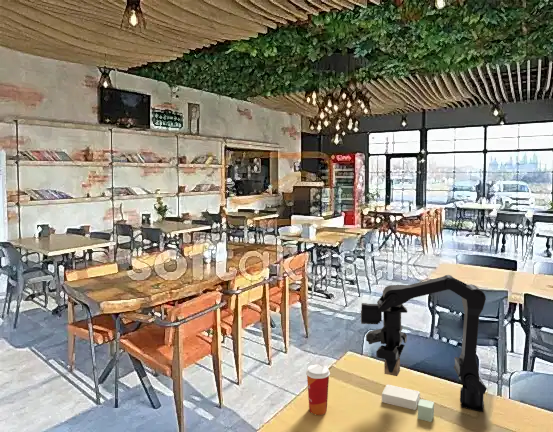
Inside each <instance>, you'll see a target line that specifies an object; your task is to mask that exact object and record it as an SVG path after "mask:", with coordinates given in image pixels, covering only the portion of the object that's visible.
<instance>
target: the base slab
mask: <svg viewBox="0 0 553 432" xmlns="http://www.w3.org/2000/svg"><path fill="white" fill-rule="evenodd" d="M420 396H421V393H420V391H418V390H415V389H410V388H405V387H400V386H397V385H391V384H386V385H385V387H384V389H383V391H382V393H381V403H383V404H384V403H385V404H389V405H393V406H396V407H401V408H405V409H409V410H414V411H417V409H418V404H419V401H420V399H421V398H420Z"/></svg>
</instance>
